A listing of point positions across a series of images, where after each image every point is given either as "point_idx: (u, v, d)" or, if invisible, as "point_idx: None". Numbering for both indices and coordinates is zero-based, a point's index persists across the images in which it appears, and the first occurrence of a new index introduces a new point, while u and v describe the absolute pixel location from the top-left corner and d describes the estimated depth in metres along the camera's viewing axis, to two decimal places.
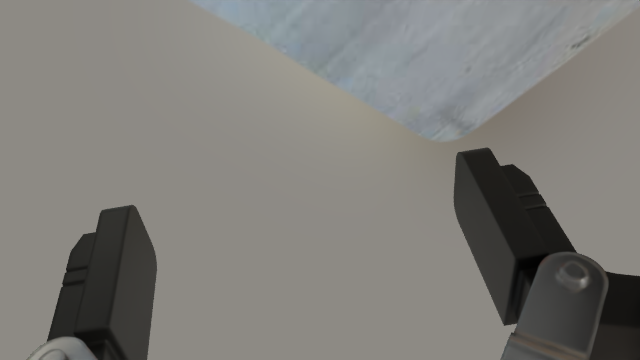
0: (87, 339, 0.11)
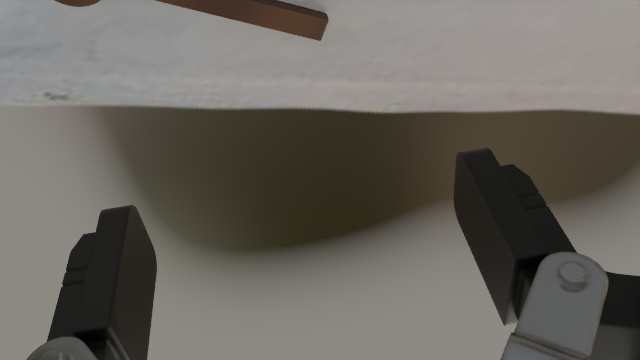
0: (87, 339, 0.11)
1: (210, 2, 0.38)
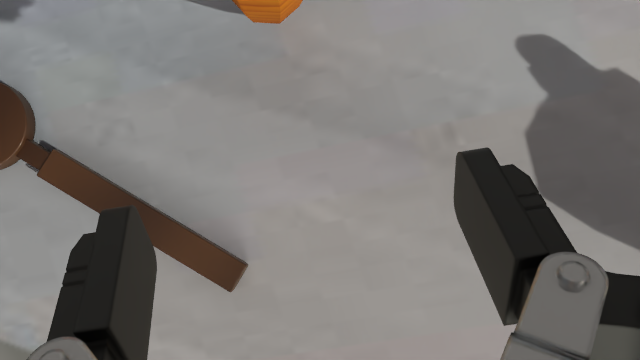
0: (87, 339, 0.11)
1: (114, 205, 0.32)
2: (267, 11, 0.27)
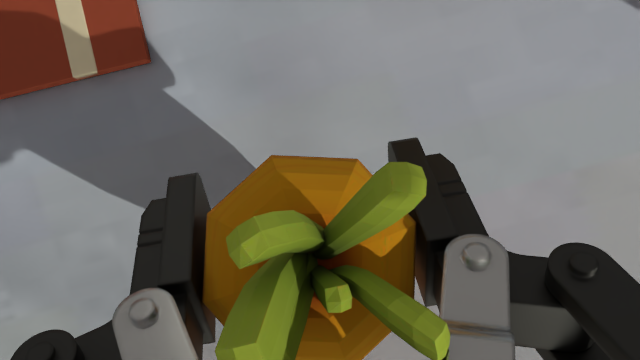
0: (169, 292, 0.12)
1: None
2: None
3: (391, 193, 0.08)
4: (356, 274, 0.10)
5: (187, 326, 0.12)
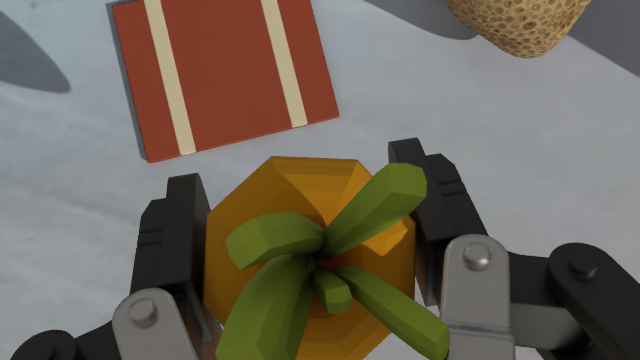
0: (169, 292, 0.12)
1: None
2: None
3: (391, 194, 0.08)
4: (356, 275, 0.10)
5: (187, 326, 0.12)
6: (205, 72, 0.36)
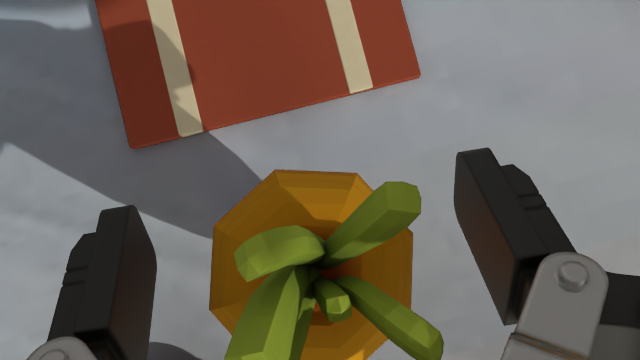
0: (87, 339, 0.11)
1: None
2: None
3: (388, 211, 0.09)
4: (355, 285, 0.11)
5: None
6: (216, 10, 0.24)
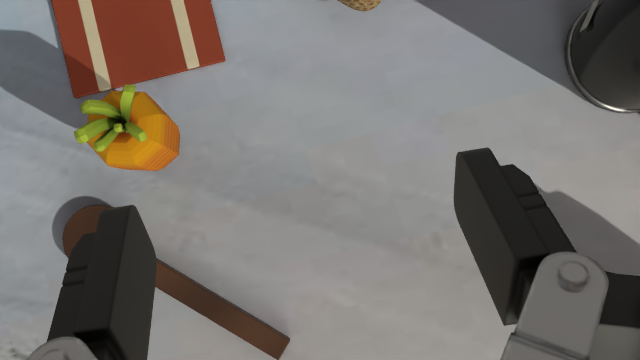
0: (87, 339, 0.11)
1: (193, 297, 0.44)
2: None
3: (123, 92, 0.31)
4: (126, 122, 0.33)
5: None
6: (119, 26, 0.46)
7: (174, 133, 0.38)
